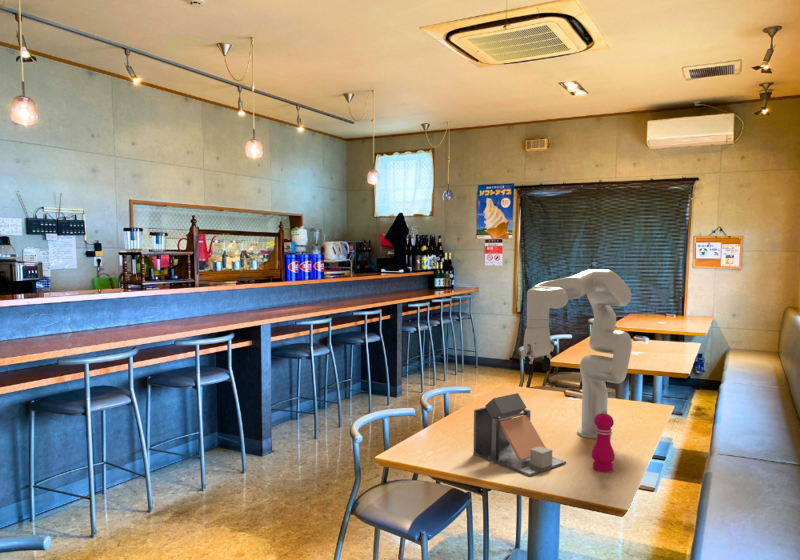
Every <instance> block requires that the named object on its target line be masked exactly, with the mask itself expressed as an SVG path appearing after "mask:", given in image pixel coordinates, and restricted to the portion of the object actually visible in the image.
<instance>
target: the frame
mask: <svg viewBox="0 0 800 560" xmlns="http://www.w3.org/2000/svg"><path fill="white" fill-rule="evenodd" d="M524 415H527V416H528V418H529V420H530V421H531V410H530V409H527V408H526V409H524V410H523V411H522V412H521V413H520V414H516V415H512V416H508V417H504V418H500V419H499V418H497V417H491V416H490V414H489V412H488V410H487V408H486V406H484V407H481V408H477V409H474V410H473V452H472V453H473V455H474V456H476V457H479V458H482V459H483V460H486V461H489V462H491V463H493V464H497V465H499V466H501V467H504V468H507V469H510V470H512V471H515V472H517V473H520V474H523V475H525V476H527V477H529V478H530V477H533V476H536V475H538V474H541V473H543V472H547V471H549V470H552V469H556V468H558V467H561V466H563V465H566V464H567V461H566V460H564V459H560V458H558V457H554V456H552V465H551V466H548V467H545V468H540V467H537V466H535V465H532V464H530V458H527V459H524V460H521V461H519V459H518V458H517V456H516V454H515V452H514V450H513V448H512V447H511V445H510V443H509V441H508V439H507V438H506V436H505V434H504V432H503V430H502V429H501V427H500V425H499V422H500V421H504V420H508V419H512V418H516V417H520V416H524Z"/></svg>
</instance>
